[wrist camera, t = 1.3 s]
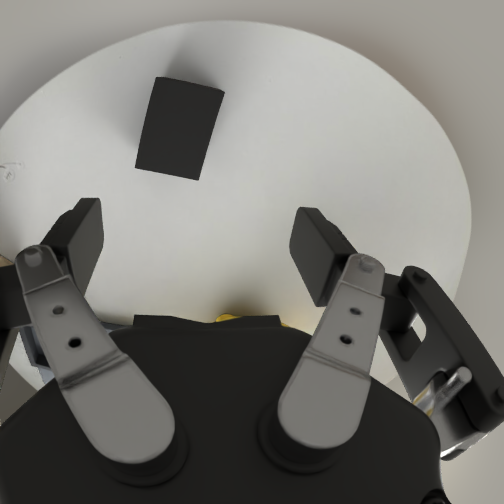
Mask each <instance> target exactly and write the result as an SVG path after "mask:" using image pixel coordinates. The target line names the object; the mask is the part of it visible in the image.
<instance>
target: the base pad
mask: <svg viewBox="0 0 504 504" xmlns="http://www.w3.org/2000/svg"><path fill="white" fill-rule="evenodd" d="M100 323H101V324H102V326H103V327H104V329H105V330H106V331H107V333H110V332H112V331H114V330H117V329H120V328H123V327H126V326H120V325H115V324H109V323H104V322H100ZM19 332H20V335H21V338H22V341H23V344H24V347H25V350H26V353H27V355H28V358H29V361H30V363H31V365H32V366H35V367H38V369H39V371H40V374H41V376H42V379H43V381H44V384H47V383H48V382H49V381H50V380H51V379H53V378H54V377H55V376H54V374H53V372H52V370H51V368H50V365H49V363H48V361H47V359H46V356H45V354H44V352H43V349H42V347H41V345H40V342H39V340H38V337H37V335H36V332H35V329H34V327H33V325H32V326H26V327H21V328H20V329H19Z"/></svg>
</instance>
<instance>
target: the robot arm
mask: <svg viewBox="0 0 504 504" xmlns="http://www.w3.org/2000/svg"><path fill="white" fill-rule="evenodd" d="M103 243H104V231H103V222H102V211H101V202H100V199H99V198H81V199H80V200H79V202H78V203H77V204H76V206H75V207H74V208H73V210H68V211H67V212H65V213H64V214H62V215H61V216H60V217H59V218H58V220H57V221H56V222H55V224H54V225H53V226H52V228H51V230H49V232H48V233H47V235H46V236H45V238H44V239H43V240H42V242H41V243H40V244H39V245H33V246H30V247H27V248H25V249H24V250H22V251H21V252H20V253H19V254H18V255H17V256H16V258H15V264H12V265H7V266H2V267H0V392H1V388H2V384H3V380H4V376H5V373H6V369H7V366H8V363H9V359H10V356H11V353H12V350H13V347H14V344H15V341H16V338H17V335H18V332H19V329H20V328H21V327H26V326H32V325H33V327H34V329H35V332H36V335H37V337H38V340H39V342H40V345H41V347H42V349H43V352H44V354H45V356H46V359H47V361H48V363H49V365H50V368H51V370H52V372H53V374H54V376H55V377H54V378H53V379H51V380H50V381H49V382H48V383H47V384H46V385H45V386H44V387H42V388H41V389H40V390H39V391H38V392H37V393H36V394H35V395H33V396H32V397H31V398H30V399H29V400H28V401H27V402H26V403H24V404H23V405H22V406H21V407H20V408H19V409H18V410H17V411H16V412H15V413H13V414H12V415H11V416H10V417H9V418H8V419H7V420H6V421H5V422H4V423H3V424H2V425H1V421H0V504H451V503H450V501H449V500H448V498H447V497H446V495H445V492H444V489H443V483H442V477H441V460H444V461H449V460H452V459H454V458H456V457H457V456H458V455H460V454H461V453H463V452H464V451H466V450H467V449H469V448H470V447H471V446H473V445H474V444H475V443H477V442H478V441H480V440H481V439H482V438H484V437H485V436H486V435H487V434H489V433H490V432H491V431H492V430H494V429H495V428H496V427H497V426H499V425H500V424H501V423H502V422H503V421H504V377H503V375H502V374H501V372H500V370H499V369H498V367H497V366H496V364H495V362H494V361H493V359H492V358H491V356H490V355H489V353H488V352H487V350H486V349H485V347H484V346H483V344H482V343H481V341H480V340H479V338H478V337H477V335H476V334H475V333H474V331H473V330H472V328H471V327H470V325H469V324H468V323H467V321H466V320H465V319H464V317H463V316H462V315H461V313H460V312H459V310H458V309H457V308H456V307H455V305H454V304H453V302H452V301H451V300H450V299H449V297H448V296H447V295H446V293H445V292H444V291H443V290H442V288H441V287H440V286H439V285H438V283H437V282H436V281H435V280H434V279H433V277H432V276H431V275H430V274H429V273H427V272H426V271H424V270H423V269H421V268H418V267H415V266H406V267H405V268H404V270H403V272H402V274H401V276H396V275H392V274H387V273H385V268H384V266H383V265H382V264H381V263H380V262H379V261H378V260H376V259H375V258H373V257H371V256H368V255H365V254H360V253H358V252H357V251H356V250H355V248H354V247H353V246H352V245H351V243H350V242H349V241H348V240H347V238H346V237H345V236H344V235H342V232H341V231H340V230H339V228H338V227H337V226H335V225H334V224H333V223H331V222H330V221H328V220H326V218H325V217H324V216H323V215H322V213H321V212H320V211H319V210H318V209H317V208H308V207H299V208H298V210H297V213H296V217H295V221H294V225H293V229H292V234H291V238H290V244H289V248H290V254H291V256H292V258H293V260H294V262H295V264H296V266H297V268H298V270H299V272H300V274H301V277H302V279H303V281H304V283H305V285H306V287H307V289H308V291H309V293H310V295H311V297H312V299H313V302H314V304H315V306H316V307H325V306H327V307H326V309H325V311H324V313H323V315H322V317H321V320H320V322H319V324H318V326H317V328H316V330H315V332H314V334H313V336H311V335H309V334H308V333H305V332H303V331H301V330H298V329H295V328H291V327H287V326H282V324H281V321H280V318H279V315H268V316H242V317H238V318H233V319H228V320H223V321H219V322H214V323H202V322H197V321H192V320H187V319H182V318H178V317H173V316H157V315H134V320H133V326H127V327H123V328H120V329H117V330H114V331H112V332H110V333H107V331H106V330H105V329H104V327H103V326H102V324H101V323H100V321H99V320H98V318H97V317H96V315H95V314H94V312H93V311H92V309H91V307H90V306H89V304H88V303H87V301H86V300H85V298H84V295H85V292H86V289H87V287H88V284H89V281H90V279H91V276H92V273H93V271H94V268H95V266H96V263H97V261H98V258H99V256H100V253H101V251H102V248H103ZM418 315H419V316H420V317H421V319H422V320H423V322H424V324H425V326H426V336H425V338H424V340H423V341H422V342H421V341H420V339H419V337H418V336H417V334H416V332H415V331H414V329H413V327H412V325H413V323H414V322H415V320H416V318H417V317H418ZM378 334H379V336H380V338H381V340H382V342H383V344H384V346H385V348H386V350H387V352H388V354H389V356H390V358H391V360H392V362H393V364H394V366H395V368H396V370H397V372H398V374H399V376H400V378H401V380H402V382H403V384H404V387H405V389H406V391H407V393H408V395H409V397H410V400H411V402H412V403H410V402H409V401H407V400H406V399H404V398H403V397H401V396H400V395H398V394H397V393H395V392H394V391H392V390H390V389H389V388H388V387H386V386H385V385H383V384H382V383H380V382H379V381H377V380H376V379H374V378H373V377H371V376H370V375H369V373H370V368H371V364H372V360H373V356H374V352H375V348H376V343H377V338H378Z"/></svg>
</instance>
